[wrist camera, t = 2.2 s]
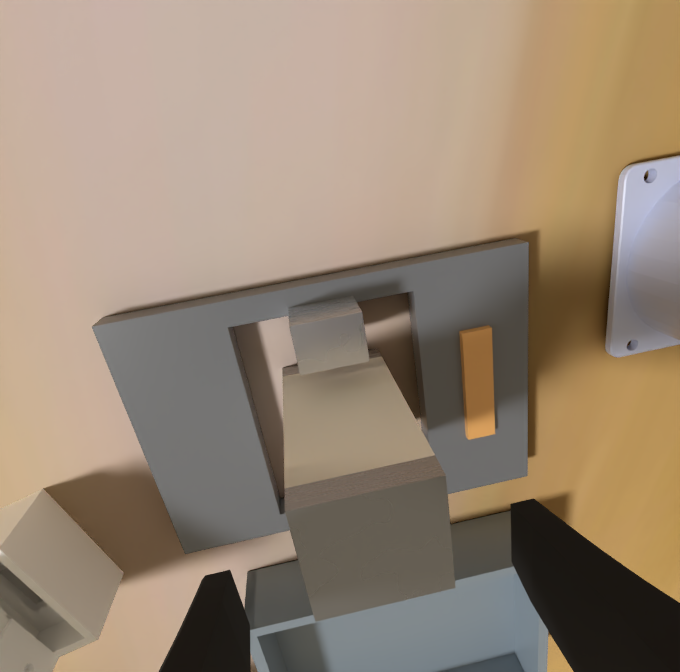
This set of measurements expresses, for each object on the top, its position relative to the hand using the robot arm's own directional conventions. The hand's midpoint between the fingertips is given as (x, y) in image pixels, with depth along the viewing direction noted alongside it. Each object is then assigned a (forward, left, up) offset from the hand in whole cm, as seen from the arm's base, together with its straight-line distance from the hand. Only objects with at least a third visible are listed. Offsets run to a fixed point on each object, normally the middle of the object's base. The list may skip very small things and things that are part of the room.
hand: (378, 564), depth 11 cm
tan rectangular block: (0, 0, -8) cm, 8 cm away
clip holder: (0, 0, -8) cm, 8 cm away
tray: (-1, +14, -8) cm, 16 cm away
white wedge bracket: (+14, +4, -9) cm, 17 cm away
